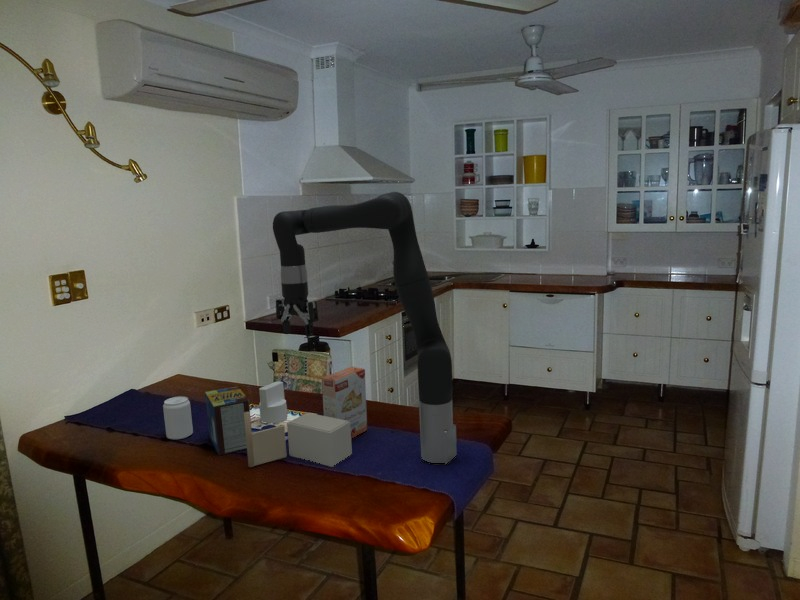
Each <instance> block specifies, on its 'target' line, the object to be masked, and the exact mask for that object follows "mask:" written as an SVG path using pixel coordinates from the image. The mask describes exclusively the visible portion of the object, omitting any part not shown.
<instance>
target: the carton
mask: <svg viewBox="0 0 800 600" xmlns="http://www.w3.org/2000/svg"><path fill="white" fill-rule="evenodd" d="M286 426H287V440H288V450H289V451H288V453H289V456H290V457H293V458H297V459H300V458H301V460H304V459H305V461H308V460H310V461H309V462H312V461H313V462H312V463H315V462H316V463H315V464H319V463H320V465H324V466H326V467H327V466H328V467H330V468H333V467H335V466H337V465H338V464H339V462H340V461H341V462H343V461H344V460H346V459H347V457H348V456H349V457H351V456H352V455H353V448H352V439H351V428H350V422H348V421H346V420H341V419H336V418H332V417H327V416H324V415H322V414H321V415H320V414H318V413H317V414H316V413H312V412H306V413H304V414H302V415H300V416H298V417H296V418H293V419H292V420H290V421H288V422H286ZM351 454H352V455H351ZM350 455H351V456H350ZM349 457H348V458H349ZM345 458H346V459H345ZM342 460H343V461H342ZM341 462H340V463H341ZM337 463H338V464H337ZM336 464H337V465H336ZM334 465H335V466H334Z"/></svg>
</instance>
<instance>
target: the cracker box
mask: <svg viewBox="0 0 800 600" xmlns="http://www.w3.org/2000/svg"><path fill="white" fill-rule="evenodd" d="M321 388H322V389H321V390H322V405H323V407H322V408H323V416H327V417H332V418H336V419H341V420H346V421H348V422H350V428H351V440H353V439H355V438H357V437H358V436H357V435H359V434H361V433H363V432H365V431H366V430H367V431H368V419H367V418H368V417H367V416H368V414H367V413H368V412H367V392H366V391H367V390H366V370H365V369H364V368H363V367H355V366H350V367H347V368H344V369H342V370H338V371H337V372H334V373H330V374H327V375H326V376H323V377H321ZM365 433H366V432H365ZM363 434H364V433H363ZM361 435H362V434H361ZM356 436H357V437H356ZM359 436H360V435H359ZM354 437H355V438H354ZM352 438H353V439H352Z"/></svg>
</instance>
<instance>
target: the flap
mask: <svg viewBox="0 0 800 600" xmlns="http://www.w3.org/2000/svg"><path fill="white" fill-rule="evenodd" d="M250 418H251V411H250V412H244V421H245V432H246V443H247V449H246V451H247V462H248V468H253V467H255V466H258V465H263V464H265V463H269V462H273V461H277V460H281V459H285V458H287V455H288V454H287V445H286V442H287V441H286V431H285V429H286V428H285V425H283V424H282V425H279V426H274V427H270V428H267V429H262V430H258V431H254V432H253V431H252V432H251V429H252V420H251V421H250Z"/></svg>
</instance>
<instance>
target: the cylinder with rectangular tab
mask: <svg viewBox="0 0 800 600" xmlns="http://www.w3.org/2000/svg"><path fill="white" fill-rule="evenodd" d="M258 389H259V390H258V391H259V401H260V402H259V403H258V404H259V405H258V406H259V415H260V416H259V418H260V422H261V421H263V422H266V423H277V424H280V422H281V423H284V422H285V421H287V420H288V418H287V417H288V405H287V400H286V399H285V390H284V389H285V388H284V382H283V381H278V380H277V381H275V382H271V383H269V384H267V385H264V386H262V387H260V388H258Z"/></svg>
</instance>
